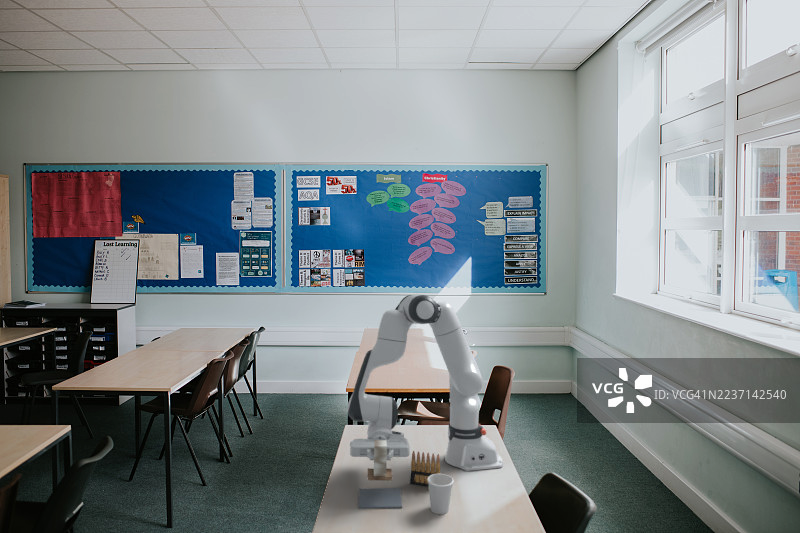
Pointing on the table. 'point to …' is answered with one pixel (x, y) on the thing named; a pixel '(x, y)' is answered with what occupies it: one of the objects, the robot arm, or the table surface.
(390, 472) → the pale pillar on plinth
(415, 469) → the ammunition clip
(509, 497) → the table surface
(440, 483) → the dixie cup
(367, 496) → the slate mat
